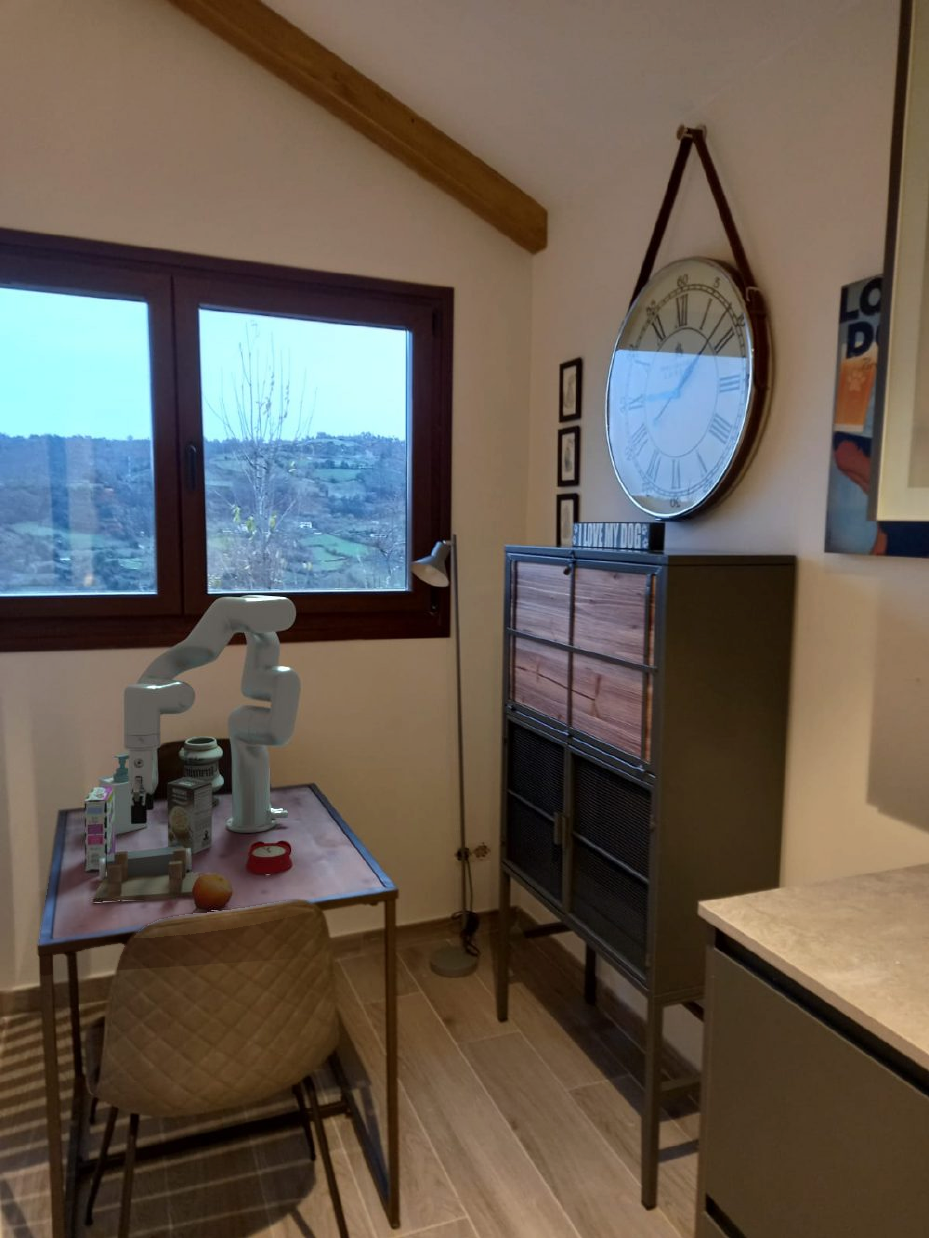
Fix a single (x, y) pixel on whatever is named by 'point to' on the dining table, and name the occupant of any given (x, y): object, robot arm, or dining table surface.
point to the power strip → (146, 862)
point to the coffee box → (189, 814)
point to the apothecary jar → (202, 761)
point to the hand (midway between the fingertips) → (142, 816)
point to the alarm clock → (269, 857)
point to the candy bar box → (99, 826)
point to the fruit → (211, 892)
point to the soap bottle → (121, 797)
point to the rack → (146, 881)
